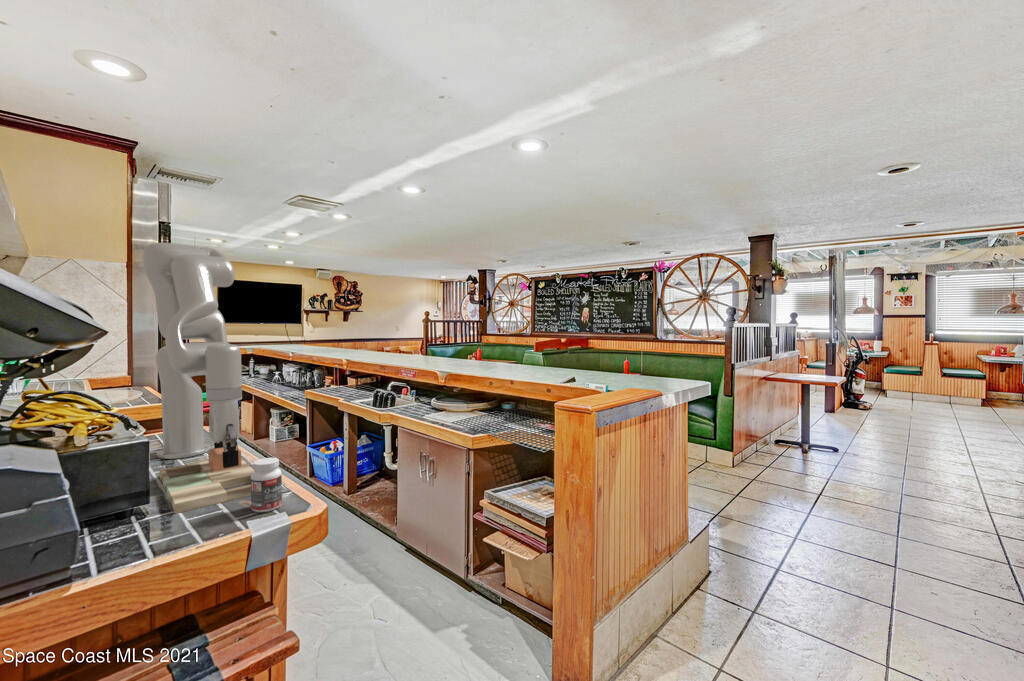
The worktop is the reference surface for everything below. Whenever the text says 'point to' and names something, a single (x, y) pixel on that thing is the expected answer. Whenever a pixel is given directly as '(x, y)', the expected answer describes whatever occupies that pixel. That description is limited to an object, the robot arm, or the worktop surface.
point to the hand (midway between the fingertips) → (226, 461)
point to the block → (219, 459)
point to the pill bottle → (266, 485)
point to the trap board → (205, 485)
